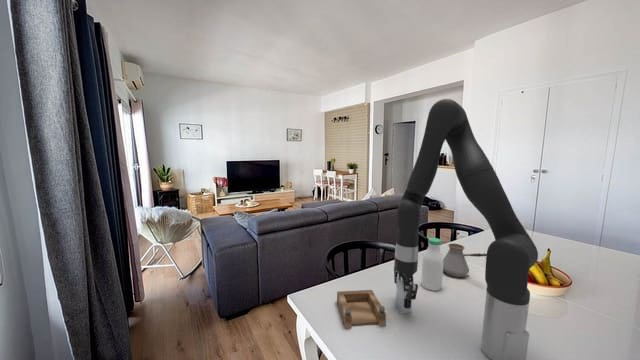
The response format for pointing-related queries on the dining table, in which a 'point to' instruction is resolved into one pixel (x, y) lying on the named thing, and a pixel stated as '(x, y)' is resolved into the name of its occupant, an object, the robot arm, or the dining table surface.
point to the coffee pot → (457, 261)
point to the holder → (360, 308)
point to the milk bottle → (432, 266)
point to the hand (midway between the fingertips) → (403, 302)
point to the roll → (401, 298)
